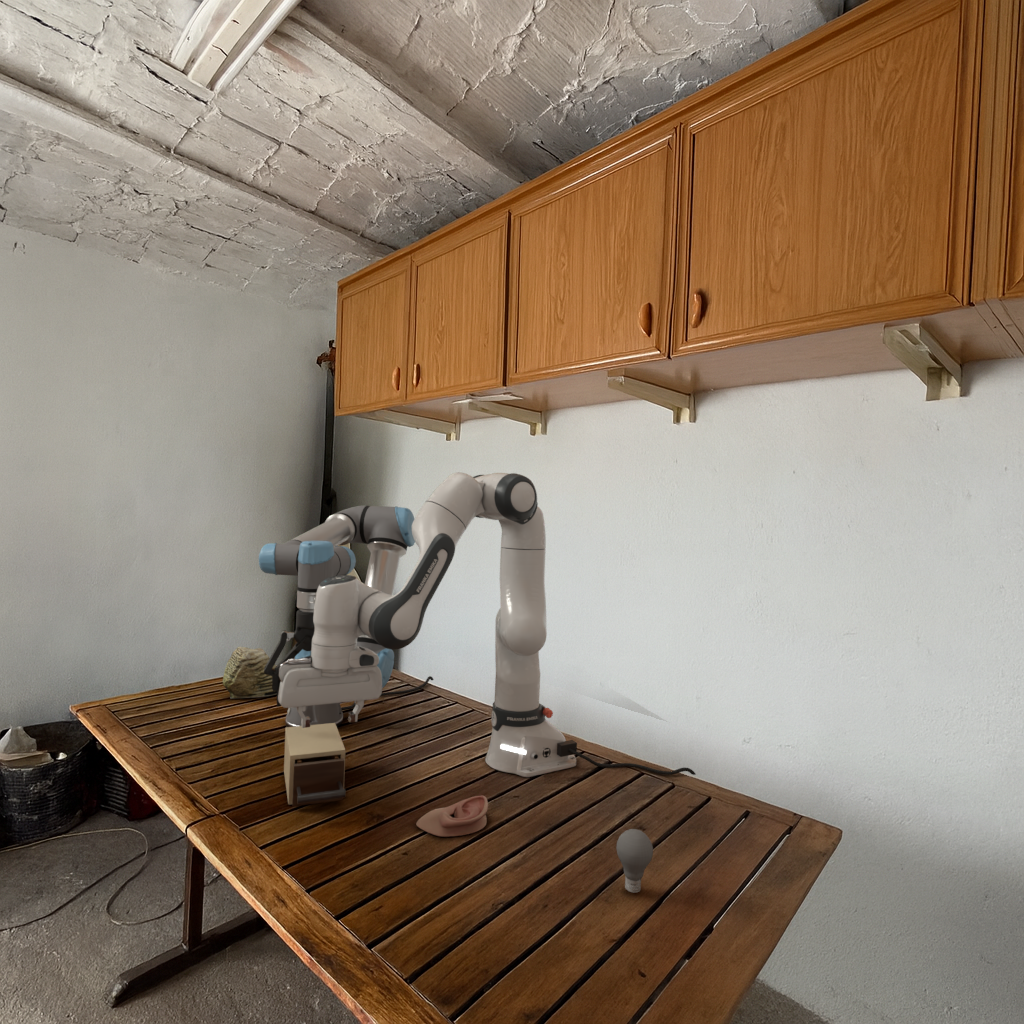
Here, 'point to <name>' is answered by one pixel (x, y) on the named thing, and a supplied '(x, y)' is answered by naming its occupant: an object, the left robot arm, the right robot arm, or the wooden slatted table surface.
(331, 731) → the cabinet
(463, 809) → the anatomical model
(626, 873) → the light bulb
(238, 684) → the fossil
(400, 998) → the wooden slatted table surface
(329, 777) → the drawer
